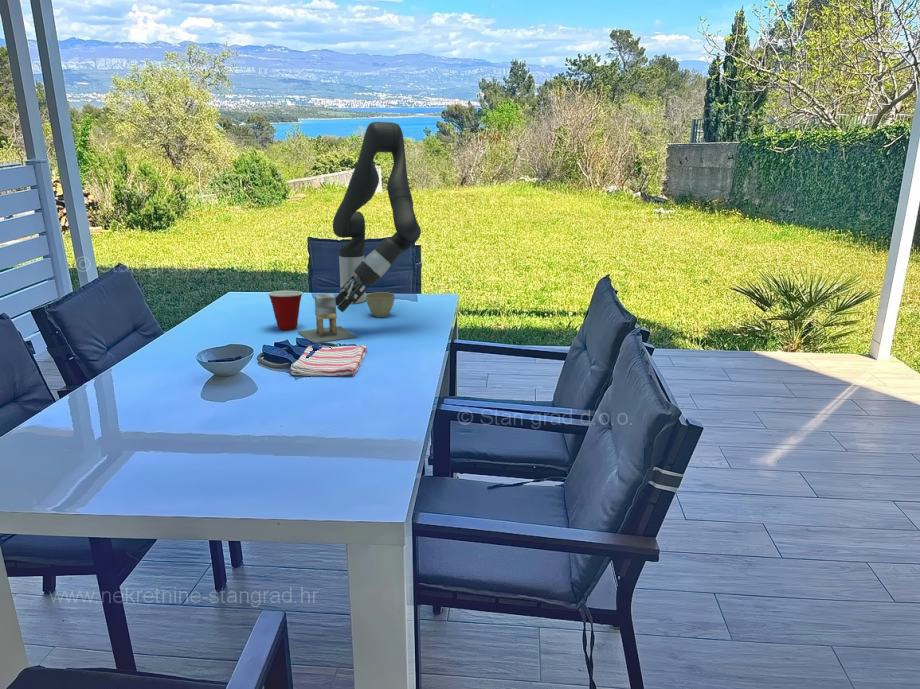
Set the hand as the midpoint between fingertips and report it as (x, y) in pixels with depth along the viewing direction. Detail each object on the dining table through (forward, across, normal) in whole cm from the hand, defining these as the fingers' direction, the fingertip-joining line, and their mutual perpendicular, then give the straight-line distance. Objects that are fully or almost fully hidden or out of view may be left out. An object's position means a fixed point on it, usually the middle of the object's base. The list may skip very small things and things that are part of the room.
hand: (337, 306), depth 207 cm
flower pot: (-6, -19, +19) cm, 28 cm away
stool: (+8, 0, +3) cm, 9 cm away
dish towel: (+12, +27, +2) cm, 30 cm away
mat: (+9, 0, +4) cm, 10 cm away
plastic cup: (+16, -12, -4) cm, 21 cm away
